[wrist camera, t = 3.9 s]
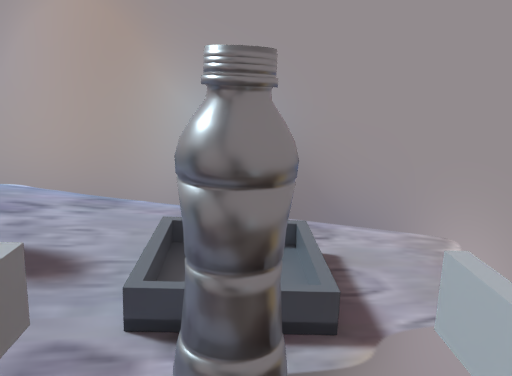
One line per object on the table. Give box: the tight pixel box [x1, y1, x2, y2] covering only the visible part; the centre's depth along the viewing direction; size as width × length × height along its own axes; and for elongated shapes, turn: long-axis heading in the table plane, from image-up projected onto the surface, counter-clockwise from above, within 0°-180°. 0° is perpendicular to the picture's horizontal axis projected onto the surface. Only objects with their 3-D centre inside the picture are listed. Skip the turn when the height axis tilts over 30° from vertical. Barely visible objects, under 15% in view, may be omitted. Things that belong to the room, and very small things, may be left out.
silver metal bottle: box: [173, 45, 299, 376], centre depth 24 cm, size 6×7×20 cm
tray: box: [123, 217, 340, 335], centre depth 43 cm, size 16×18×4 cm
